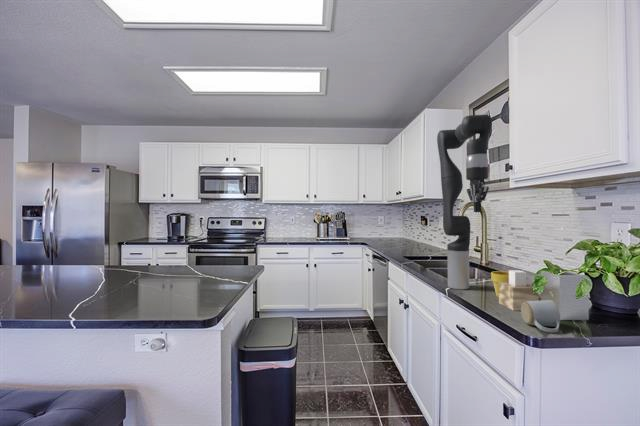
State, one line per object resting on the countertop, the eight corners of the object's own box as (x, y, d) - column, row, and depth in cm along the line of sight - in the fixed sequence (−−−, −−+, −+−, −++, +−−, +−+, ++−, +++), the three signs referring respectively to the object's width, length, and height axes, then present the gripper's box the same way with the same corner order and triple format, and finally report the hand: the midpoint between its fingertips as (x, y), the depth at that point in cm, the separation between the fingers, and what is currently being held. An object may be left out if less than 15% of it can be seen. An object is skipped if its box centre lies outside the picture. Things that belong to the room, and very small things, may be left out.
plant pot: (512, 293, 132) (512, 270, 132) (526, 300, 122) (525, 275, 122) (487, 293, 133) (486, 270, 133) (498, 300, 123) (498, 275, 123)
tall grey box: (540, 311, 109) (540, 271, 109) (566, 310, 109) (566, 270, 109) (560, 320, 100) (559, 276, 100) (588, 319, 100) (588, 276, 100)
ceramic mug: (519, 320, 101) (519, 296, 100) (546, 321, 100) (546, 297, 99) (537, 333, 90) (537, 307, 90) (568, 334, 89) (568, 308, 89)
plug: (509, 294, 117) (508, 270, 117) (522, 294, 117) (521, 270, 117) (515, 297, 113) (515, 272, 113) (528, 297, 113) (528, 272, 113)
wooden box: (499, 303, 119) (498, 282, 119) (522, 302, 119) (522, 282, 119) (513, 310, 110) (513, 287, 110) (538, 310, 110) (538, 287, 110)
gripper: (459, 169, 127) (460, 212, 127) (475, 164, 113) (476, 212, 113) (478, 169, 127) (478, 212, 127) (496, 164, 113) (496, 212, 113)
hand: (477, 212), depth 120 cm, fingers closed
